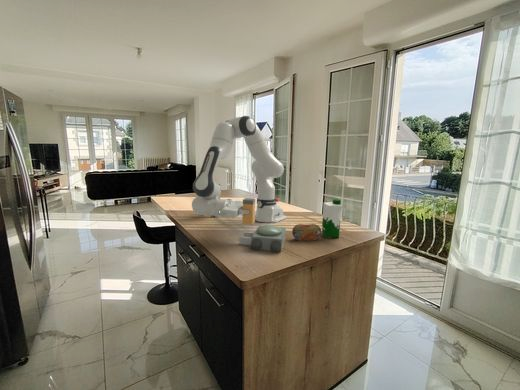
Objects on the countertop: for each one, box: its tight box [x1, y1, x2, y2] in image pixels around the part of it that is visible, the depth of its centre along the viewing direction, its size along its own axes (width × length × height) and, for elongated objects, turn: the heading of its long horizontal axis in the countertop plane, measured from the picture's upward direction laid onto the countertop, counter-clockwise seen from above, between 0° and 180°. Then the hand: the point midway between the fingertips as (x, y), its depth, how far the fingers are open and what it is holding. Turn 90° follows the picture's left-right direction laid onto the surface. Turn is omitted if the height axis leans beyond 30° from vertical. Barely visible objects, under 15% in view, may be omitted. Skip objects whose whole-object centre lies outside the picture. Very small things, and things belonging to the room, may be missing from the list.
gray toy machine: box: [238, 224, 287, 253], centre depth 129 cm, size 21×20×8 cm
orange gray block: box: [241, 197, 256, 226], centre depth 128 cm, size 5×5×12 cm
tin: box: [291, 223, 322, 242], centre depth 135 cm, size 15×3×8 cm, turn 95°
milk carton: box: [321, 198, 343, 238], centre depth 141 cm, size 9×9×20 cm
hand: (250, 210), depth 128 cm, fingers closed on orange gray block, 5 cm apart
